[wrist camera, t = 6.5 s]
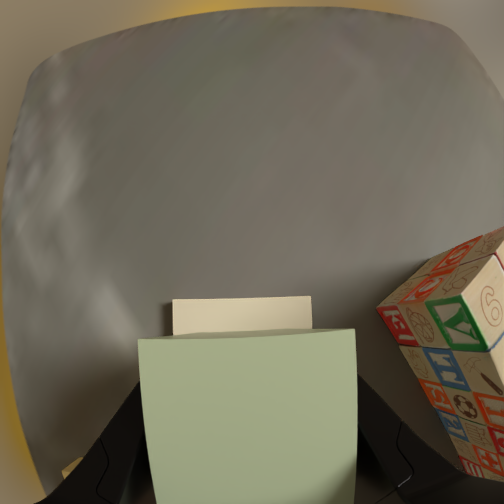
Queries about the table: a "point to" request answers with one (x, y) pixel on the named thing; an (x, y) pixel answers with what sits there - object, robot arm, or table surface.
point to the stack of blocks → (459, 345)
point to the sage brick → (251, 416)
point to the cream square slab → (241, 314)
